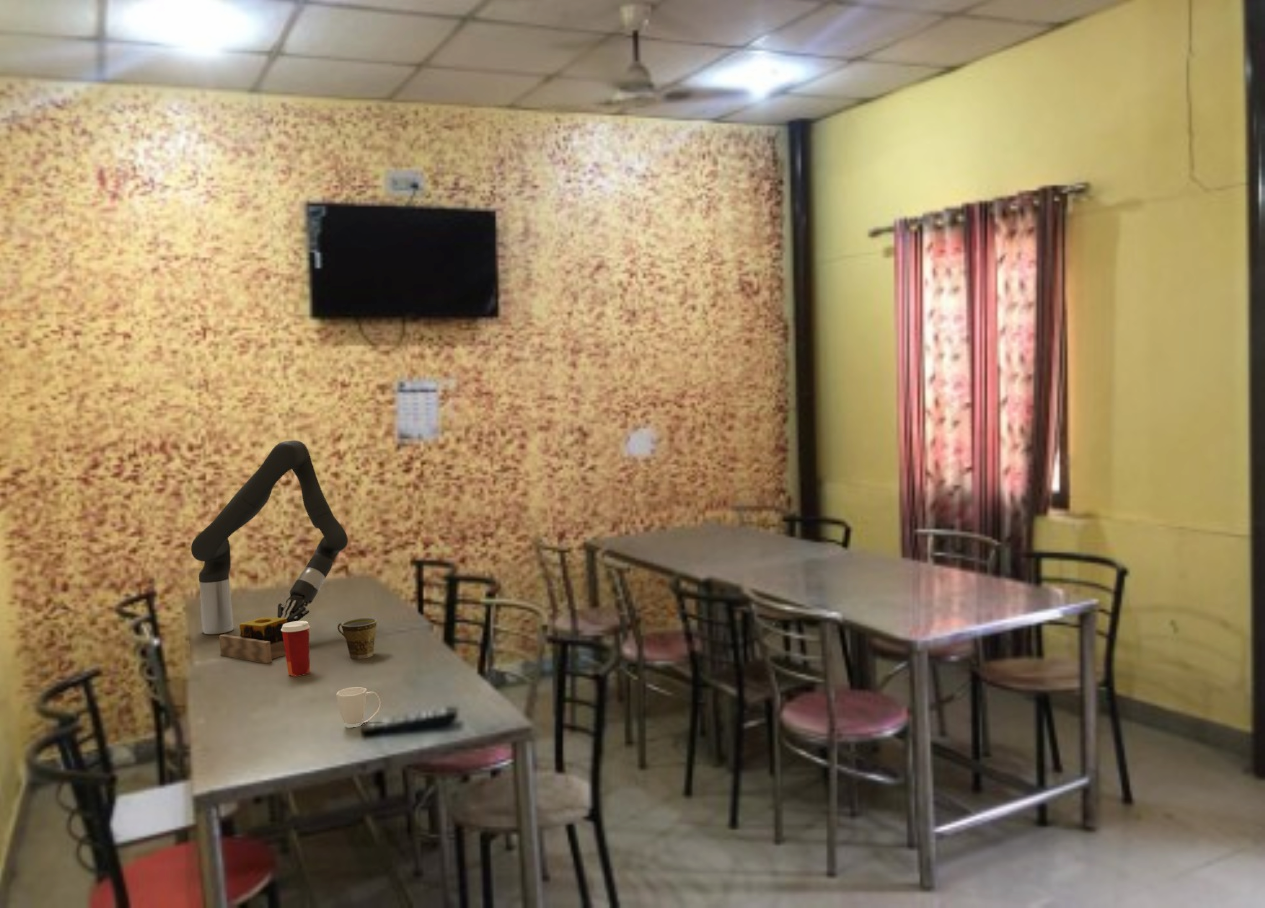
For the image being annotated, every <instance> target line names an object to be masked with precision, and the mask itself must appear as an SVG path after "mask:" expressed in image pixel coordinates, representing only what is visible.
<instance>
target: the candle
mask: <svg viewBox="0 0 1265 908" xmlns="http://www.w3.org/2000/svg"><path fill="white" fill-rule="evenodd" d="M285 623H287V619H286V618H278V617H276V616H275V617H274V616H273V617H271V616H262V617H257V618H255V619H251V620H248V621H246V622H242V623H239V624H238V625H239V631H240V634H239V637H244V638H250V639H257V640H263V641H269V642H270V644H272V643H276V642H279V641H283V642H284V640H283V633H282V631H281V629H282V626H283V624H285ZM284 650H285V647H284Z"/></svg>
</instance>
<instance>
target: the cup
mask: <svg viewBox="0 0 1265 908" xmlns="http://www.w3.org/2000/svg"><path fill="white" fill-rule="evenodd" d="M335 695H336V696H335V697H336V700H337V704H338V708H339V713H340V716H341V718H342V721H343V723H344V724H356V723H360V724H361V723H363V722H368V721H369V722H370V721H372V720H373V719H374V718H375V717H376V716H377V715H378V714H379V712H380V711H381V709H382V702H381V697H380V696H379V695H378V694H377V693H376V692H375V691H367V688H365V687H361V686H355V687H346V688H343V689H340V690H337V692H336V694H335ZM370 695H375V696H376V697H377V699H378V704H379V705H378V708H377V710H376V711H375V712H374V713H373V715H371V716H370V717H369V718H368V719H366V720H364V718H365V713H366V705H367V704H366V703H367V697H368V696H370ZM363 720H364V721H363ZM369 722H368V723H369ZM360 724H359V725H360Z"/></svg>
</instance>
